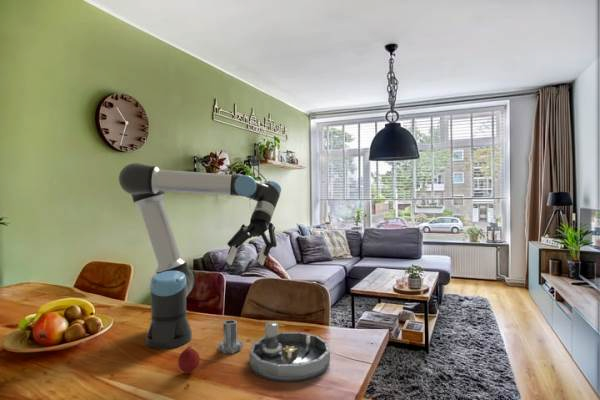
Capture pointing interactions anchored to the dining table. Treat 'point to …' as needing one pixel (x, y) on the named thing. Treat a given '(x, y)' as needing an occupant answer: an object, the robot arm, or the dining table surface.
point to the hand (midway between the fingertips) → (244, 263)
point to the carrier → (289, 355)
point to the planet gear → (230, 338)
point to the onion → (188, 360)
